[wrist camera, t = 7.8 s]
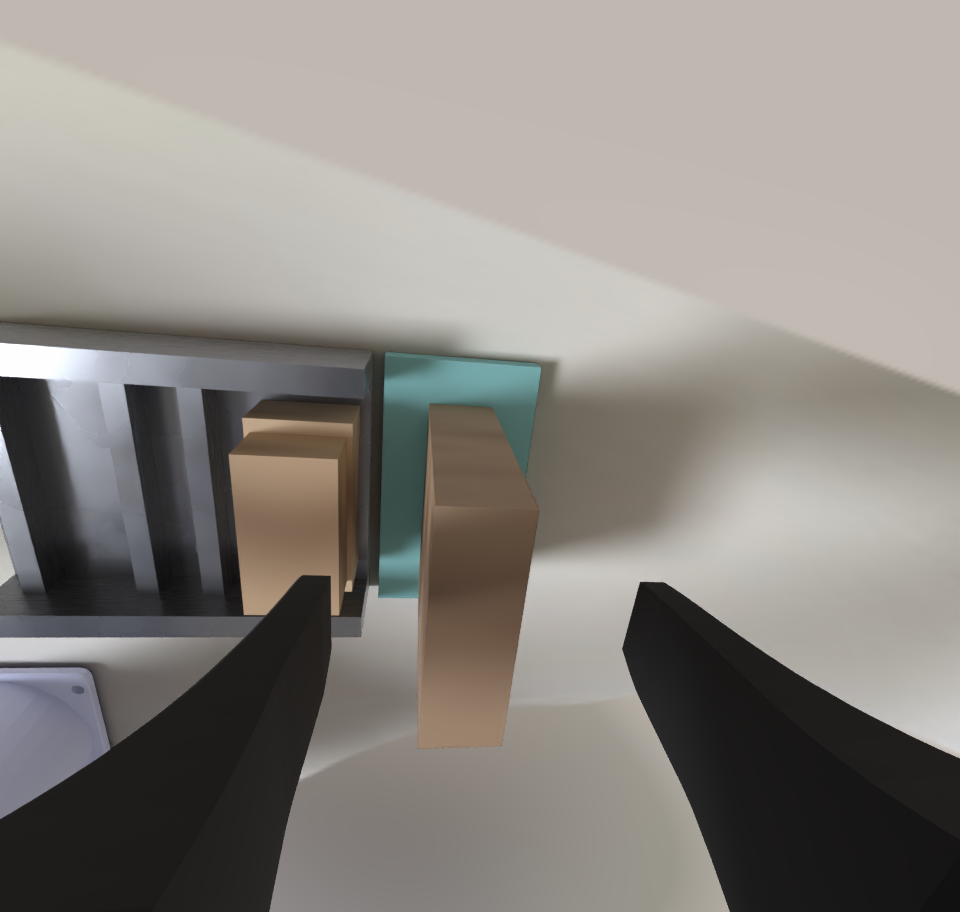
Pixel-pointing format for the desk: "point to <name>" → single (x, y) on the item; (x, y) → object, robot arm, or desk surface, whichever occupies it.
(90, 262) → the desk surface
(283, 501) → the offcut upper
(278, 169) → the desk surface
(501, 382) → the teal mat
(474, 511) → the walnut panel
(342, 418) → the offcut lower
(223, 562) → the rack
